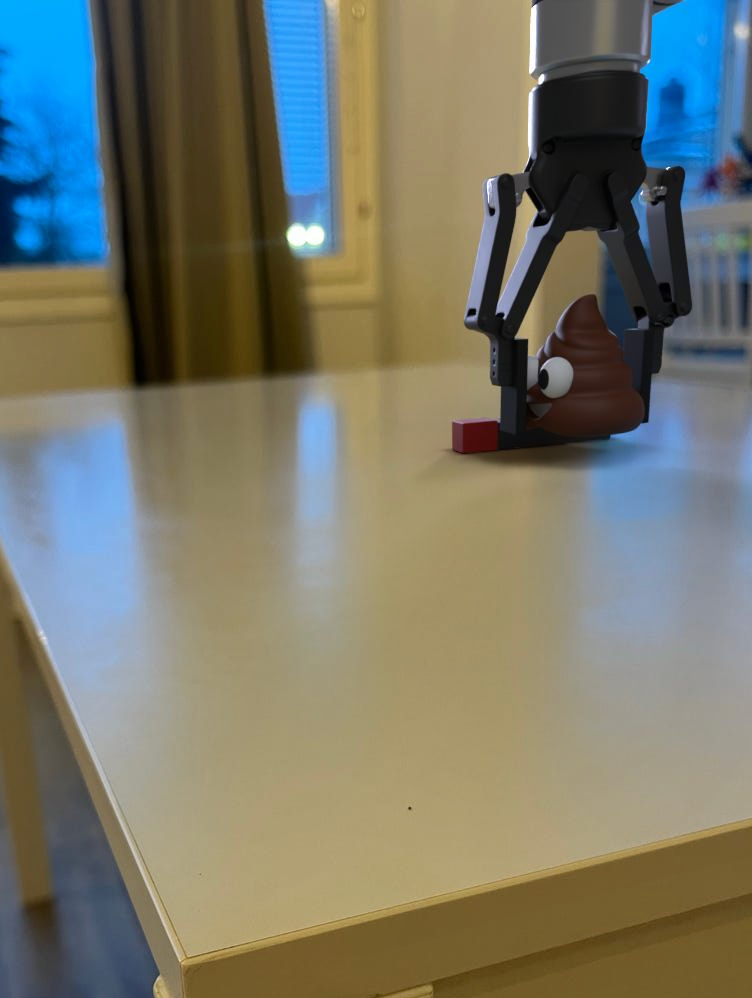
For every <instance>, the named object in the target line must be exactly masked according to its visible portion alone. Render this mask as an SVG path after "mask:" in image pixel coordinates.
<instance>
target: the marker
mask: <svg viewBox="0 0 752 998" xmlns="http://www.w3.org/2000/svg"><path fill="white" fill-rule="evenodd" d="M610 439H611V435H606V436H594V437H573V436H564V435H559V434H555V433H552V432H549V431H547V430H545V429H543V428H541V427H538V428H535V429H529V430H527V429H526V434H522V435H514V434H511V433H507V432H503V431H500V418H490V417H487V416H485V417H474V418H464V419H454V420H452V421H451V449H452V450H453V451H455V452H458V453H461V454H473V453H474V454H475V453H483V452H493V451H501V450H511V449H519V448H520V449H522V448H531V447H541V446H543V447H544V446H552V445H562V444H571V443H582V442H592V441H593V442H594V441H601V440H610Z"/></svg>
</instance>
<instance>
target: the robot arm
mask: <svg viewBox="0 0 752 998" xmlns="http://www.w3.org/2000/svg"><path fill="white" fill-rule="evenodd" d="M685 1H686V0H531V10H530V11H531V12H530V45H529V46H530V48H529V50H530V53H529V75H530V77H532V79H534V80H535V81H537V82H538V84H536V85H535V86H533V88H532V89H531V91H530V92H529V93H528V119H527V120H528V121H527V123H528V124H527V125H528V127H527V130H528V131H527V145H528V152H529V155H528V160H527V163H526V165H525V167H524V169H523V171H522V172H520V173H515V174H511V173H508V172H507V173H506V172H505V173H501V174H497V175H494V176H491V177H489V178H486V179H485V181H483V184H482V197H483V206H484V220H483V224H482V228H481V234H480V239H479V243H478V249H477V253H476V254H477V255H476V258H475V263H474V268H473V273H472V278H471V282H470V283H471V284H470V287H469V293H468V297H467V298H468V299H467V302H466V308H465V313H464V317H463V325H464V327H465V328H466V329H467V330H469V331H474V332H477V333H480V334H484V336H485V337H487V339H488V340H489V344H490V345H489V380H490V383H491V385H492V386H495V387H500V413H499V414H500V415H499V417H500V418H499V419H500V431H503V432H507V433H511V434H514V435H522V434H526V411H527V373H528V356H529V338H524V337H523V338H521V337H516V336H517V334H518V333H519V330H520V328H521V327H522V324H523V321H524V320H525V317H526V315H527V313H528V311H529V309H530V306H531V304H532V303H533V299H534V297H535V295H536V292H537V291H538V288H539V286H540V284H541V281H542V279H543V277H544V275H545V273H546V270H547V268H548V266H549V264H550V262H551V259H552V257H553V255H554V253H555V250H556V249H557V247H558V245H559V244H560V243H561V242H562V241H563V240H564V238H565V236H566V234H567V233H571V232H577V231H583V232H596V234H597V236H598V238H599V241H601V242H602V243H603V244H604V245H605V247H606V250H607V252H608V255H609V258H610V260H611V263H612V266H613V268H614V270H615V274H616V276H617V278H618V281H619V283H620V286H621V289H622V291H623V294H624V296H625V299H626V302H627V305H628V307H629V310H630V312H631V316H632V318H633V321H634V323H635V325H636V326H637V328H624V330H623V347H622V351H623V361H624V362H625V363H626V364H627V365H628V366H629V367H630V369H631V371H632V374H633V384H632V388H634V389H635V390H636V391H637V392H638V393H639V394H640V396H641V397H642V400H643V402H644V407H645V413H644V418H643V421H642V423H641V424H649V422H650V421H649V420H650V407H651V391H652V378H653V377H652V376H653V375H655V374H659V373H660V371H661V368H662V363H663V349H664V336H665V335H664V334H665V329H669V328H671V326H673V325H674V323H675V321H676V319H678V318H680V317H687V316H688V315H689V314H691V312H692V310H693V300H692V291H691V289H692V288H691V282H690V273H689V264H688V263H689V262H688V258H687V257H688V256H687V248H686V240H685V229H684V222H683V221H684V220H683V213H682V204H681V203H682V196H683V191H684V186H685V181H686V171H685V168H684V167H683V166H682V165H681V166H680V165H675V166H670V167H666V168H661V167H652V166H647V163H646V161H645V158H644V155H643V151H642V150H643V149H642V146H643V142H644V137H645V133H646V131H647V116H648V99H649V82H650V80H649V79H648V78H647V77H646V75H645V74H644V73H642V72H641V70H643V69H644V68H645V67H646V66H647V65H648V64H649V63H650V61H651V59H652V41H653V39H652V36H653V35H652V34H653V16H656V15H657V14H659V13H661V12H664V11H665V10H667V9H669V8H670V7H673V6H674V5H677V4H680V3H682V2H685ZM640 188H641V193H640V197H641V198H642V199H643V200H644V201H645V221H646V230H647V237H648V245H649V253H650V260H651V263H650V261H649V258H648V255H647V253H646V250H645V247H644V244H643V241H642V239H641V236H640V234H639V231H640V228H641V225H640V222H639V219H638V216H637V214H636V211H635V208H634V206H633V204H632V201H633V199H634V198H635V196H636V194H637V193H638V191H639V190H640ZM524 193H526V194H527V195H526V196H527V197H528V198H529V200H530V201H531V203H532V204H533V206H534V208H535V213H534V215H533V218H532V219H531V222H530V224H529V227H528V228H527V230H526V233H525V242H524V245H523V246H522V249H521V251H520V254H519V256H518V257H517V261H516V263H515V264H514V267H513V269H512V272H511V273H510V276H509V278H508V280H507V283H506V284H505V288H504V290H503V292H502V294H501V290H502V286H503V281H504V277H505V272H506V267H507V263H508V257H509V252H510V248H511V244H512V240H513V239H512V238H513V233H514V230H515V225H516V219H517V208H518V207H519V206H520V205H521V204H522V201H523V198H524V197H523V195H524ZM500 295H501V296H500Z"/></svg>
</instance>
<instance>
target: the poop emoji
mask: <svg viewBox="0 0 752 998" xmlns="http://www.w3.org/2000/svg"><path fill="white" fill-rule="evenodd" d="M598 303H599V302H598V298H597V295H596V293H589V294H585V295H582V296H580V297H578V298H577V299H575V300H574V301H572V303H570V304H569V305H568V306H567V307H566V309H565V310H564V311H563V313H562V314H561V315H560V317H559V319H558V321H557V323H556V326H555V329H554V330H553V331H551V333H550V334H549V335H548V337H547V339H546V342H545V343H543V344H542V346H541V347H540V348H539V349H538V351H537V353H536V356H535V355H528V373H527V411H526V429H527V430H529V429H535V428H538V427H541V428H543V429H545V430H547V431H549V432H552V433H555V434H559V435H564V436H573V437H594V436H606V435H610V436H613V435H621V434H626V433H631V432H633V431H635V430H636V429H638V428H639V427H640V426H641V424H643V423H642V421H643V418H644V413H645V407H644V402H643V400H642V397H641V396H640V394H639V393H638V392H637V391H636V390H635V389H634V388H632V384H633V374H632V371H631V369H630V367H629V366H628V365H627V364H626V363H625V362H624V361H623V348H622V346H621V345H620V339H619V337H618V336H617V334H616V333H614V332H612V331H611V330H610V329H609V328H608V326H607V322H606V320H605V318H604V316H603V314H602V313H601V310H600V308H599V304H598Z"/></svg>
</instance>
